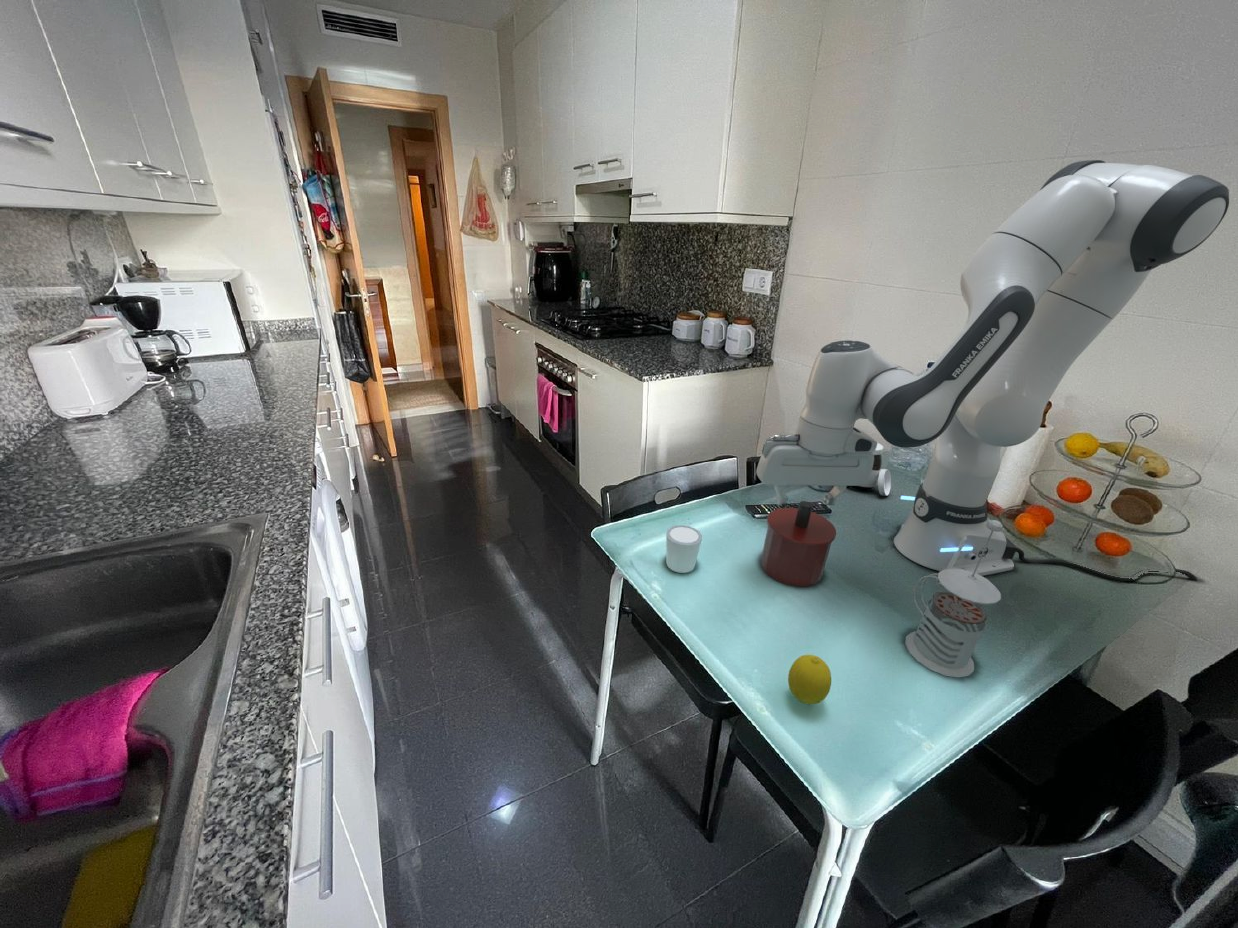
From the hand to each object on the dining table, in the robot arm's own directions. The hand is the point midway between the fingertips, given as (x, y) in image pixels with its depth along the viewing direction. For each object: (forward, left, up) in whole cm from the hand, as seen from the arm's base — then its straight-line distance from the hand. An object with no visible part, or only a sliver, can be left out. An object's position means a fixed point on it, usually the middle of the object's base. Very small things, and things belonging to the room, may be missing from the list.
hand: (804, 503), depth 93 cm
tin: (0, 0, -15) cm, 15 cm away
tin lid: (0, 0, -5) cm, 5 cm away
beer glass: (-23, -34, -15) cm, 44 cm away
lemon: (+11, +30, -15) cm, 35 cm away
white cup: (+22, -2, -15) cm, 26 cm away
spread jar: (-35, -33, -15) cm, 51 cm away
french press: (-15, +22, -15) cm, 31 cm away
